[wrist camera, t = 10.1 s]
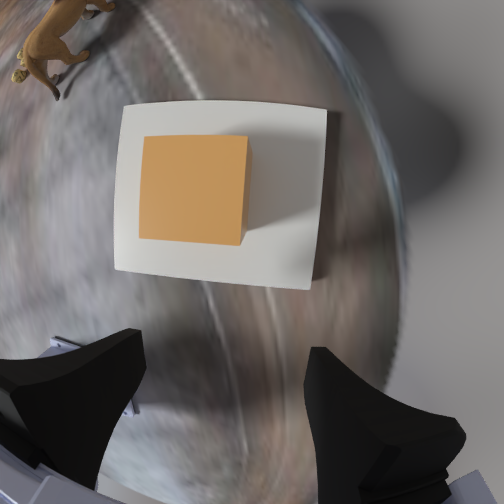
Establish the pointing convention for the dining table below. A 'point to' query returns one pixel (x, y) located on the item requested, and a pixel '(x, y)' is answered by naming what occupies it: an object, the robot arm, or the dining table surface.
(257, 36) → the dining table surface
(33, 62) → the lion figurine
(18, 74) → the dice set
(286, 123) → the plate
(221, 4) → the dining table surface
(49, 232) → the dining table surface
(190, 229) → the orange cube
